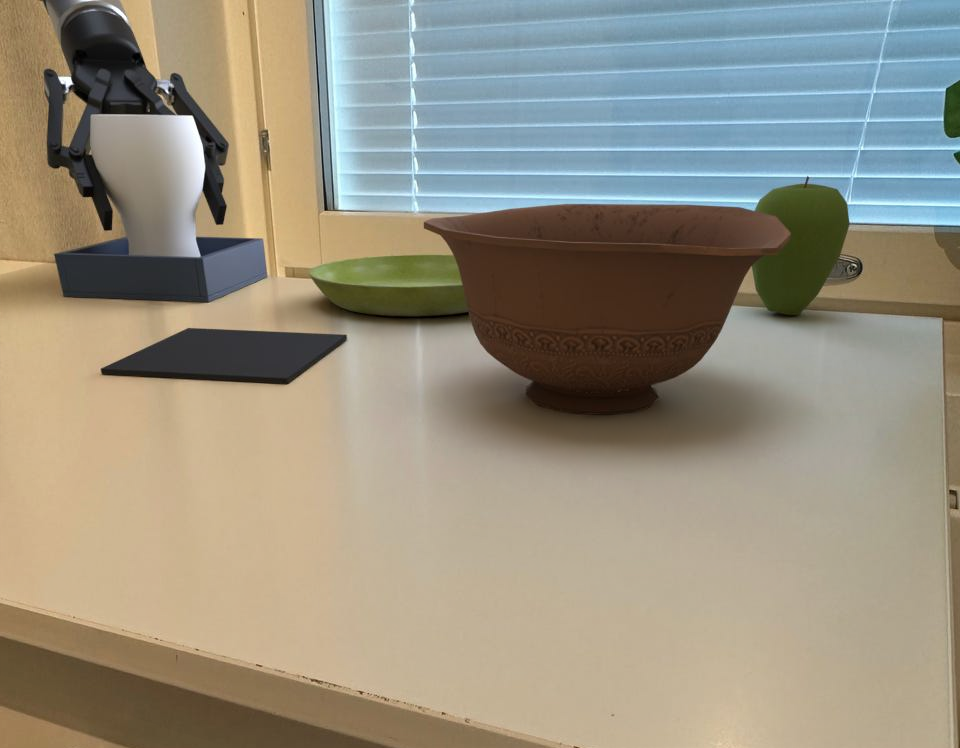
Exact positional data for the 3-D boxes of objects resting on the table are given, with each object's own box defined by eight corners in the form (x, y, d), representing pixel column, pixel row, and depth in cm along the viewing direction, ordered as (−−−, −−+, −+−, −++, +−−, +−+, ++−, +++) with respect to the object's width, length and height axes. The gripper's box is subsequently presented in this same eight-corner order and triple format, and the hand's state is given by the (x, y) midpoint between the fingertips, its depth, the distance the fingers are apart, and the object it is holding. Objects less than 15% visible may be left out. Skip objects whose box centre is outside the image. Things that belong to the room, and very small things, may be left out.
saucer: (532, 287, 95) (533, 255, 93) (509, 328, 77) (510, 289, 76) (344, 282, 97) (342, 250, 96) (281, 319, 80) (277, 282, 78)
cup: (240, 275, 96) (221, 115, 89) (173, 290, 88) (145, 115, 80) (164, 268, 100) (139, 114, 93) (93, 282, 92) (59, 114, 84)
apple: (738, 303, 88) (757, 172, 82) (827, 308, 86) (854, 174, 80) (735, 320, 80) (756, 177, 75) (833, 326, 79) (862, 180, 73)
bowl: (836, 414, 56) (877, 223, 50) (544, 474, 46) (554, 247, 41) (622, 344, 72) (635, 194, 66) (374, 378, 63) (364, 206, 57)
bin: (63, 296, 89) (53, 253, 87) (139, 272, 102) (132, 234, 100) (208, 302, 87) (202, 258, 85) (267, 276, 100) (263, 238, 98)
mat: (101, 374, 63) (100, 368, 63) (188, 332, 75) (188, 327, 75) (287, 383, 61) (286, 378, 61) (347, 339, 73) (346, 334, 73)
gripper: (201, 73, 101) (268, 237, 98) (-22, 66, 90) (45, 251, 87) (210, 13, 94) (282, 186, 91) (-30, -2, 83) (42, 194, 80)
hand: (166, 218), depth 89 cm, fingers closed on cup, 11 cm apart
